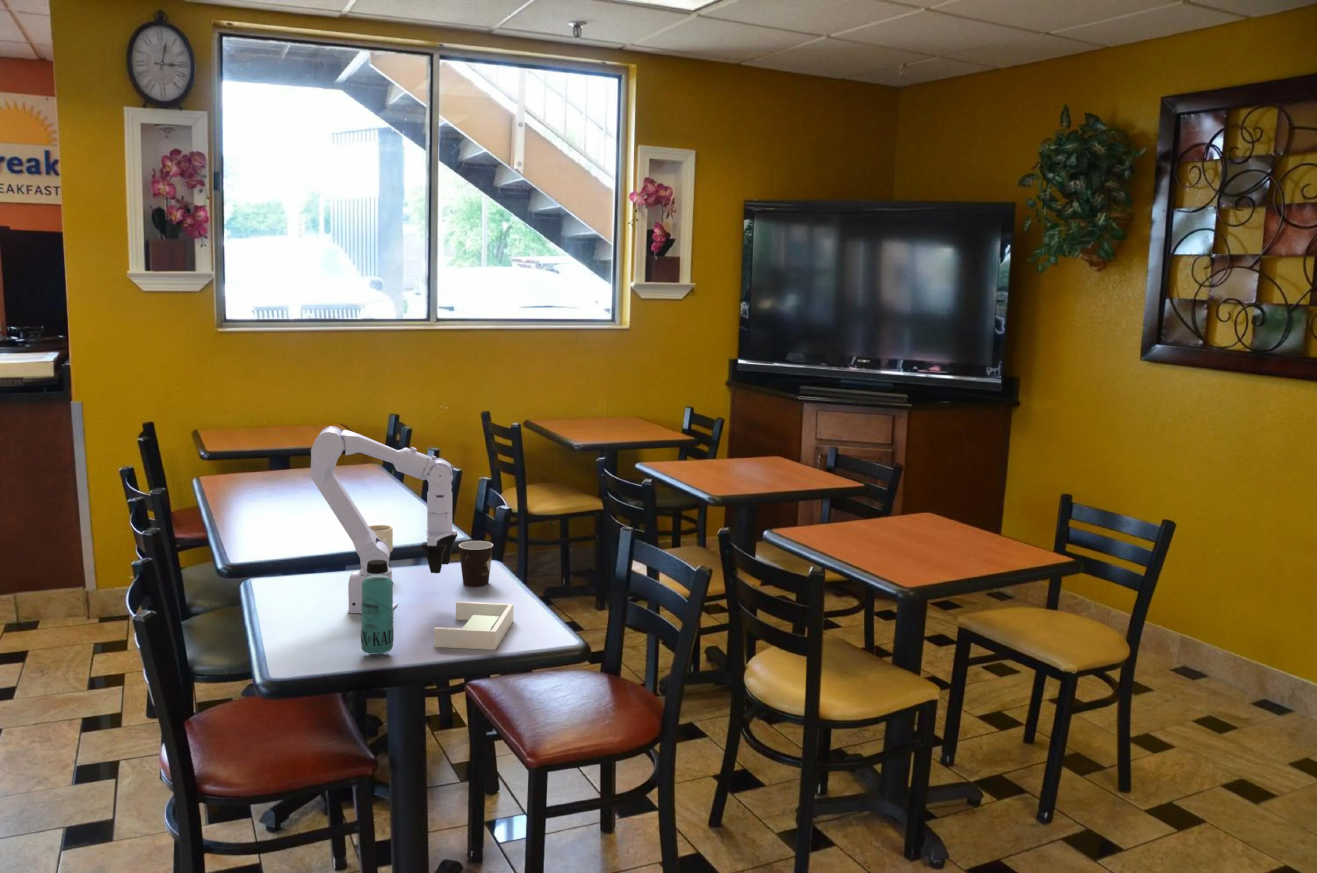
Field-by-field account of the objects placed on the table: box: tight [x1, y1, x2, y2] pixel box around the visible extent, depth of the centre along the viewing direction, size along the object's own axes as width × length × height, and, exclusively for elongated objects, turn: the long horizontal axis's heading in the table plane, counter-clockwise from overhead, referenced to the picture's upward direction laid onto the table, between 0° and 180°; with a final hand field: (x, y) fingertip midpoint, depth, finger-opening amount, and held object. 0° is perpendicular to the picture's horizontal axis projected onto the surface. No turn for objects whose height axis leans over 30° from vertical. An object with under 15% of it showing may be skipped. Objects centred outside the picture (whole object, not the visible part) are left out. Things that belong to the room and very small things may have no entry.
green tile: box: [462, 615, 499, 630], centre depth 227 cm, size 6×9×3 cm, turn 175°
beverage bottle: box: [360, 560, 395, 655], centre depth 210 cm, size 6×7×20 cm
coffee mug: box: [458, 540, 494, 588], centre depth 262 cm, size 12×9×10 cm
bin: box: [433, 600, 514, 651], centre depth 227 cm, size 13×19×4 cm
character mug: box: [368, 524, 394, 569], centre depth 266 cm, size 11×7×13 cm, turn 34°
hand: (439, 568), depth 243 cm, fingers open, 7 cm apart
